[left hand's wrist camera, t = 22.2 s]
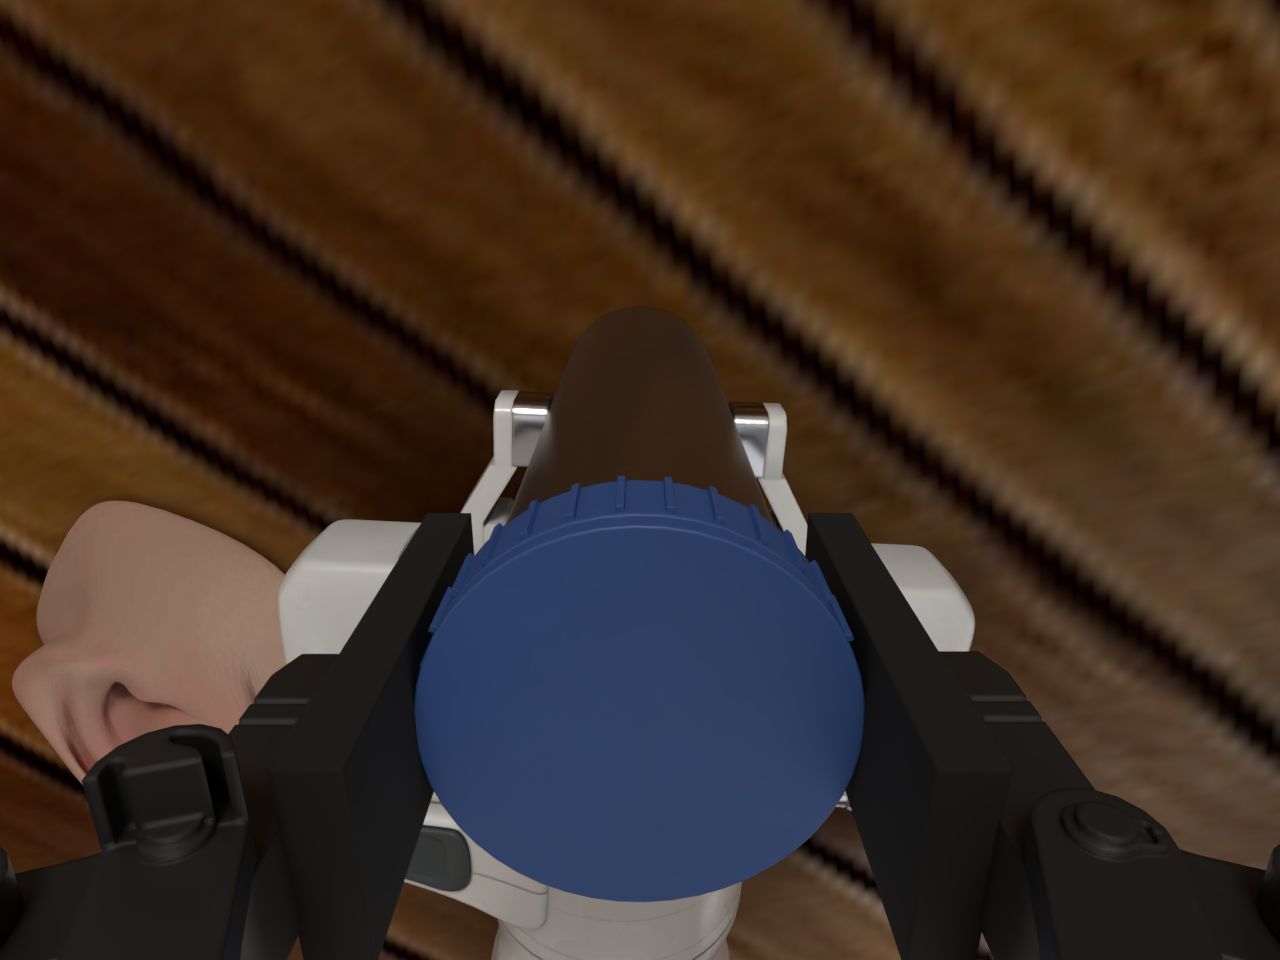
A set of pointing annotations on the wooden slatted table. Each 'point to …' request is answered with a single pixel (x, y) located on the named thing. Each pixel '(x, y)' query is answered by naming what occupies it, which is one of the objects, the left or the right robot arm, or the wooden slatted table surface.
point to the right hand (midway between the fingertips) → (639, 400)
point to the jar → (639, 415)
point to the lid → (639, 693)
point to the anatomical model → (147, 631)
